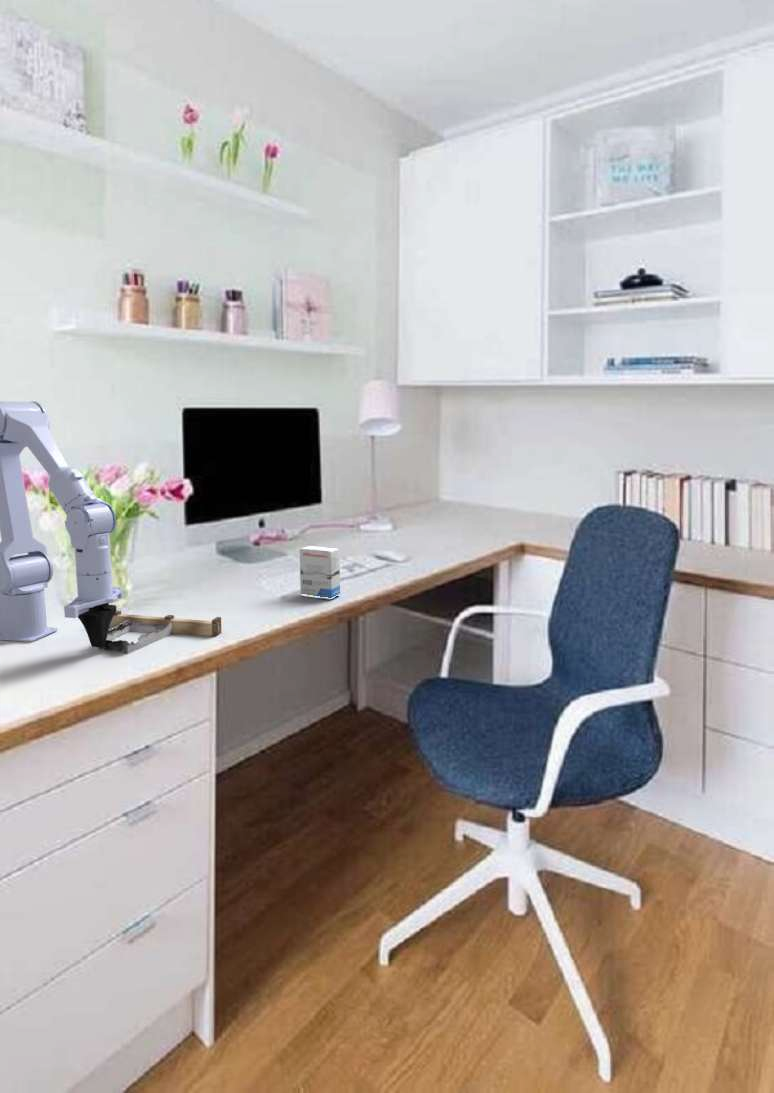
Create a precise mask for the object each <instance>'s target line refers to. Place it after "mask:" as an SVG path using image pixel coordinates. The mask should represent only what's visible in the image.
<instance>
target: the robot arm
mask: <svg viewBox="0 0 774 1093" xmlns="http://www.w3.org/2000/svg"><path fill="white" fill-rule="evenodd" d="M50 429H51V418H50V415H48V413H47V411H46V409H45V406H44V405H42V404H41V402H38V401H7V400H6V401H5V400H4V401H3V400H0V537H1V541H0V640H2V641H12V642H13V641H14V642H22V643H23V642H24V643H32V642H34V641H36V640H39V639H41V638H43V637H46V636H47V635H50V634H52V633H55V632H57V631H58V628H57V627H50V626H49V627H48V624H47V623H48V622H47V610H46V596H45V589H46V588H48V587H49V586H48V583H49V582H51V581H52V578H53V576H54V564H53V562H52V560H51V558H50V556H49V554H48V548H47V546H46V545H45V544H44V543H42V542H41V541H39V540H38V539H36V538H35V537H34V536H33V529H32V523H31V517H30V511H29V510H30V509H29V507H28V506H29V505H28V504H29V503H28V499H27V492H26V487H25V481H24V475H23V469H22V462H21V457H20V456H21V453H22V452H23V451H24V449H25V448H28V450H30V452H31V453H32V455H33V456H34V457H35V459H36V460H37V461H38V462H39V464H40V465H41V466H42V468H43V469H44V470H45V472H46V473H47V474H48V475H49V479H48V482H47V485H48V489H49V490H50V492H51V493H52V495H53V496H54V497H55V499H56V501H57V502H58V504H59V506H60V507H61V509H62V510H63V512H64V513H65V515H66V520H64V524H65V525H64V526H65V529H66V531H67V533H68V535H69V537H70V545H71V546H72V548H73V549H74V558H75V574H76V586H77V587H76V588H77V597H75V598H74V599H73V600H72V601H71V602H70V603H69V604H67V605H64V606H63V610H64V612H63V613H64V618H68V619H69V618H71V619H77V618H78V620H80V622H81V624H82V625H83V627H84V629H85V632H86V635H87V637H88V640H89V643H90V645H91V647H92V648H97V649H98V648H102V647H104V646H105V644H106V639H107V634H108V630H109V629H110V627H109V626H110V623H111V620H112V618H113V616H114V614H115V612H116V611H117V605H115V604H113V603H116V602H117V601H119V599H124V598H125V591H124V590H125V589H124V587H120V586H114V587H113V576H112V574H113V573H112V560H111V558H112V556H111V539H110V537H111V536H110V534H111V533H113V532H114V531H115V529H116V526H117V517H116V516H117V515H116V513H115V511H114V509H113V506H112V504H110V503H109V502H106V501H103V500H102V499H101V498H100V497H96V495H95V493H94V492H93V490H92V489H91V487H90V486H89V484H88V483H87V481H86V479H85V477H84V476H83V474H82V473H81V472H80V471H79V470H78V469H77V468H73V467H72V468H71V467H69V466H68V463H67V461H66V459H65V458H64V456H63V454H62V452H61V450H60V449H59V447H58V445H57V442H56V441H55V438H54V437H53V435H52V433H51V431H50ZM26 553H27V554H26ZM21 554H22V555H21ZM17 555H18V556H17ZM110 603H112V604H110Z"/></svg>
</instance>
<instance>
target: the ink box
mask: <svg viewBox="0 0 774 1093" xmlns="http://www.w3.org/2000/svg"><path fill="white" fill-rule="evenodd" d="M340 564H341V562H340V548H335V547H325V546H317V545H316V546H314V545H309V546H304V547H301V548H300V549H299V576H300V577H299V580H300V582H299V583H300V586H299V587H300V588H299V589H300V595H301V594H307V595H313V596H320V597H328V598H332V597H334V596H336V595H338V594H340V595H341V577H340V576H341V574H340V573H341V570H340V568H341V567H340Z"/></svg>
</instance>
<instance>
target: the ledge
mask: <svg viewBox="0 0 774 1093" xmlns="http://www.w3.org/2000/svg"><path fill="white" fill-rule="evenodd" d="M126 620H131V622H132V621H134V622H135V623H136V622H138V623H141V625H143V626H144V625H154V626H156V627H157V626H162V625H166V626H167V625H168V624H169V623H170V622H171V623H172V630H171V633H173V634H182V635H195V636H207V637H217V636H219V635H220V634H222V616H217V617H215V618H212V619H211V620H201V619H189V618H188V619H187V618H176V617H175V615H174V614H167V615H165V616H152V615H151V616H150V615H140V614H139V615H138V614H127V613H122V610H116V612H115V614H114V616H113V618H112V620H111V623H110V626H109V628H111V629H112V628H114V627H117V626H118V625H119V626H121V625H120V623H124V622H126ZM171 633H170V634H171Z"/></svg>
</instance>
